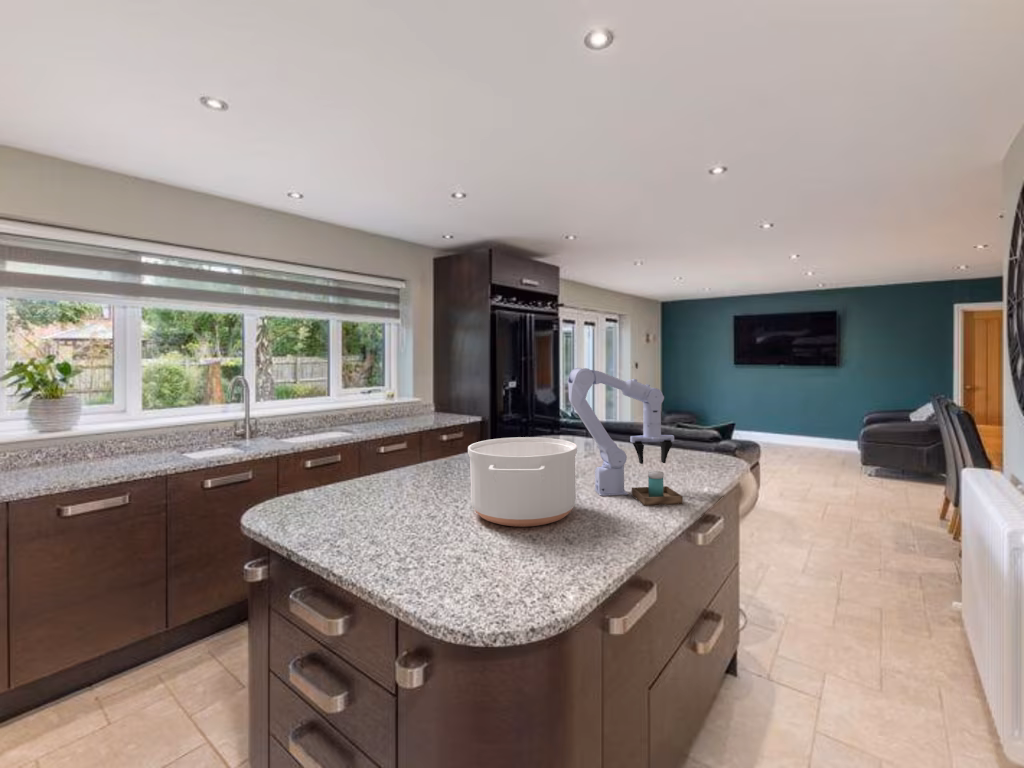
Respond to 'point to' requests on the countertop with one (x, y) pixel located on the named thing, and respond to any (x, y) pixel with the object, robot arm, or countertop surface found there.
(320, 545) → the countertop surface
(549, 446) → the pot
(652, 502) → the tray
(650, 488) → the shaker
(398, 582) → the countertop surface
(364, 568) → the countertop surface
